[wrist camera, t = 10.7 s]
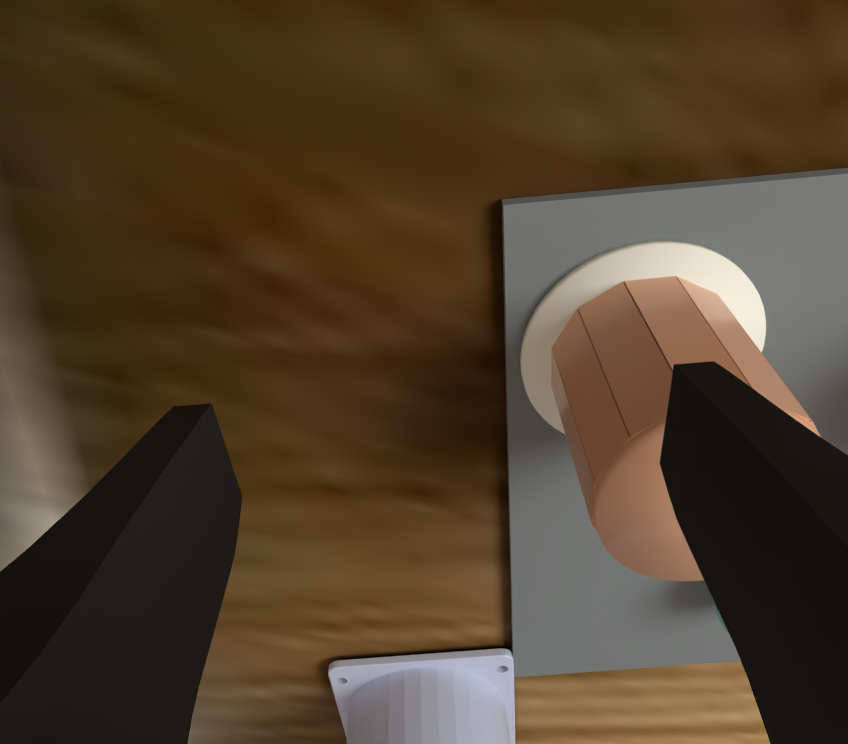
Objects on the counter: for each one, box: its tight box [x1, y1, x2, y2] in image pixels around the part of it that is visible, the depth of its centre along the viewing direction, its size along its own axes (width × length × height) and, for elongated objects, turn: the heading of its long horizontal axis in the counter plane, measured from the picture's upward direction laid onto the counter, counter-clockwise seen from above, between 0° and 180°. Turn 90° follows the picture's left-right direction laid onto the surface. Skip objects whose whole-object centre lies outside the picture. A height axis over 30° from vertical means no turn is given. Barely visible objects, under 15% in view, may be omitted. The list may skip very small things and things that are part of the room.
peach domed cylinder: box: [551, 276, 821, 581], centre depth 19 cm, size 5×5×6 cm
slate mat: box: [502, 168, 848, 677], centre depth 25 cm, size 22×20×1 cm
